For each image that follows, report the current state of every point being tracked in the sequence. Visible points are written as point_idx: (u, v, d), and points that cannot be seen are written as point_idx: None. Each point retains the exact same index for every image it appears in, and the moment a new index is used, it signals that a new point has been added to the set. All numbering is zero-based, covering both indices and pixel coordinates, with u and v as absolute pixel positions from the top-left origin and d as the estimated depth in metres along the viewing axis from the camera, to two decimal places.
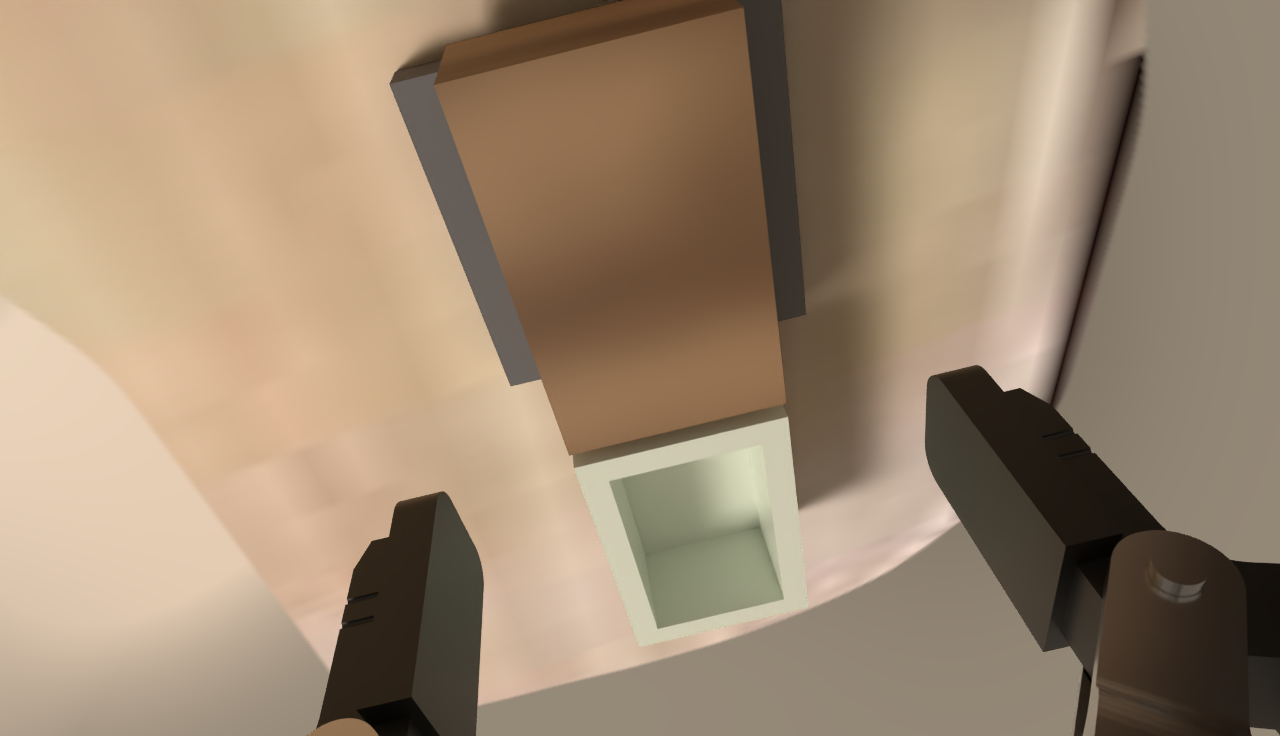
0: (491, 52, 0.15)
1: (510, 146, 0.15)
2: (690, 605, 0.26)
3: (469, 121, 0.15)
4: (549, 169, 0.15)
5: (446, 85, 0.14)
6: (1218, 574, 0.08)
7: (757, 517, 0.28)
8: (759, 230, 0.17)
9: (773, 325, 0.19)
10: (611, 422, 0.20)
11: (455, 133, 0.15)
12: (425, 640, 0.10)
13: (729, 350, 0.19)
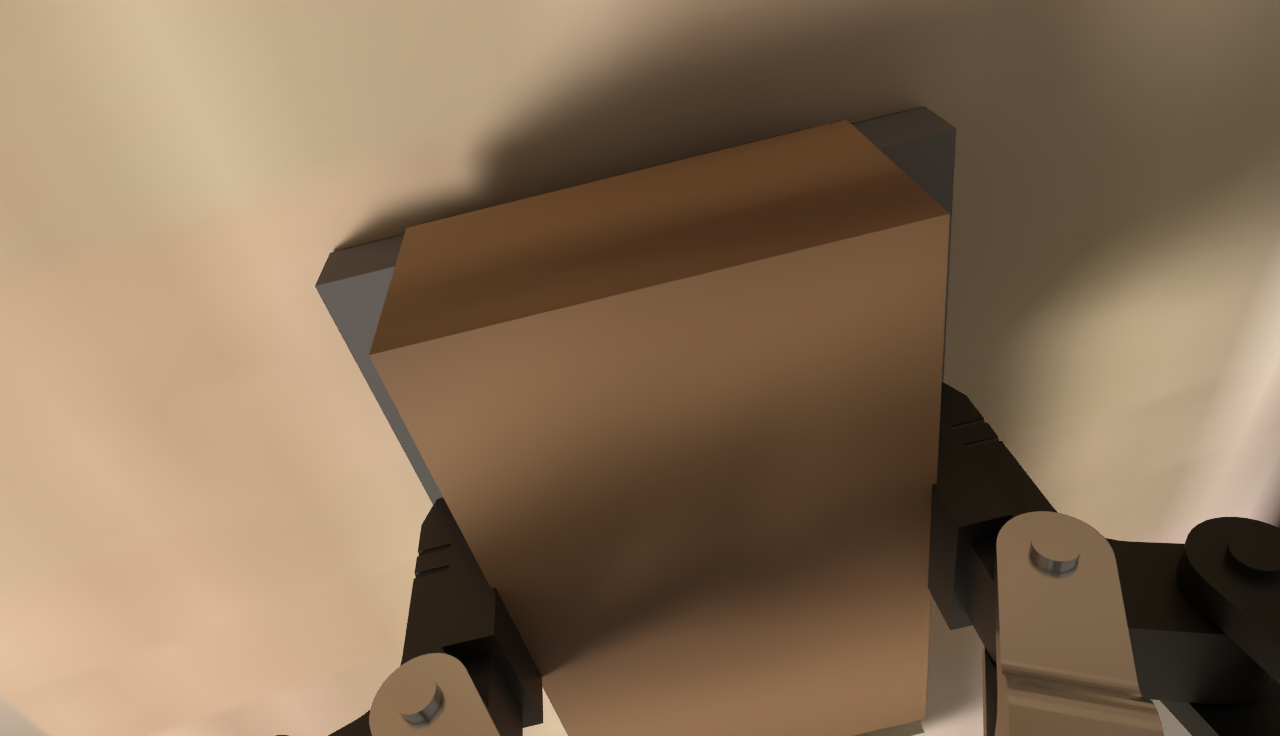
0: (478, 268, 0.09)
1: (511, 438, 0.08)
2: None
3: (438, 406, 0.08)
4: (579, 465, 0.09)
5: (392, 355, 0.08)
6: (1092, 551, 0.08)
7: None
8: (921, 526, 0.10)
9: (922, 636, 0.12)
10: None
11: (412, 423, 0.08)
12: None
13: (850, 668, 0.12)
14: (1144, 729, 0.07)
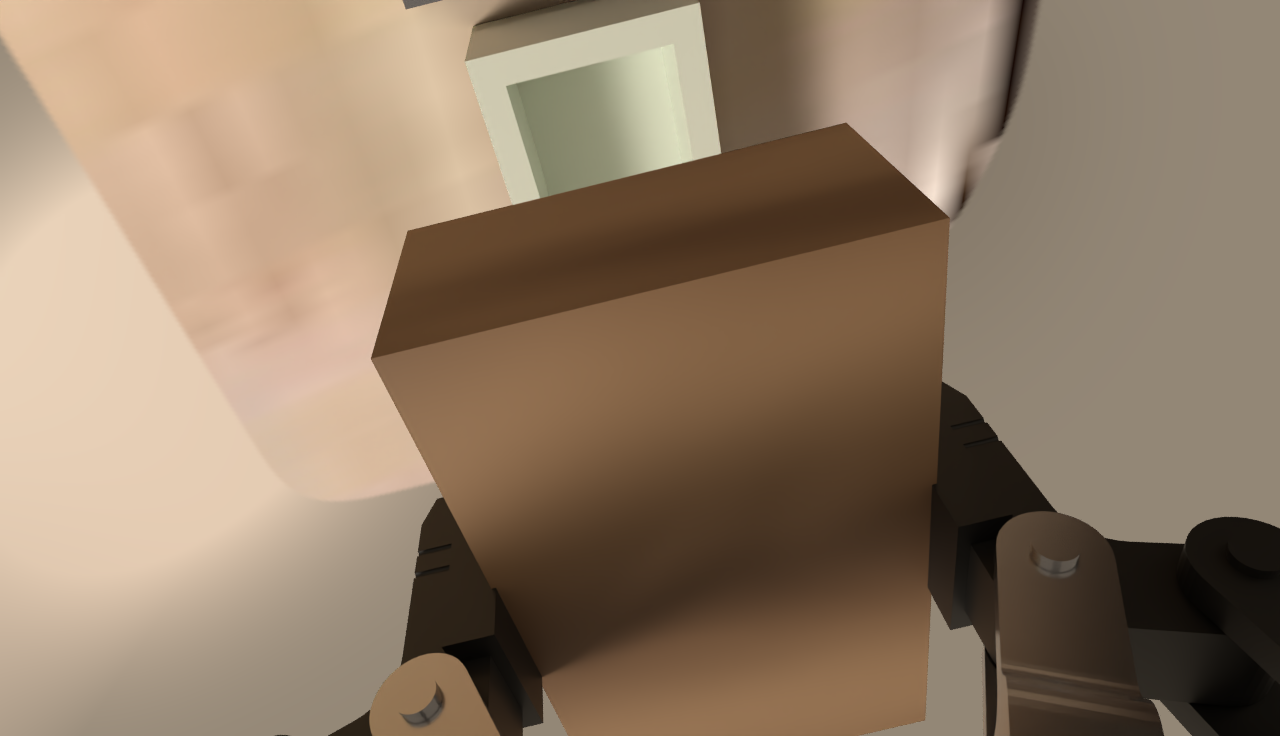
0: (480, 271, 0.09)
1: (513, 440, 0.08)
2: None
3: (439, 409, 0.08)
4: (580, 468, 0.09)
5: (394, 359, 0.08)
6: (1092, 551, 0.08)
7: None
8: (921, 529, 0.10)
9: (922, 638, 0.12)
10: None
11: (414, 426, 0.08)
12: None
13: (849, 670, 0.12)
14: (1144, 729, 0.07)
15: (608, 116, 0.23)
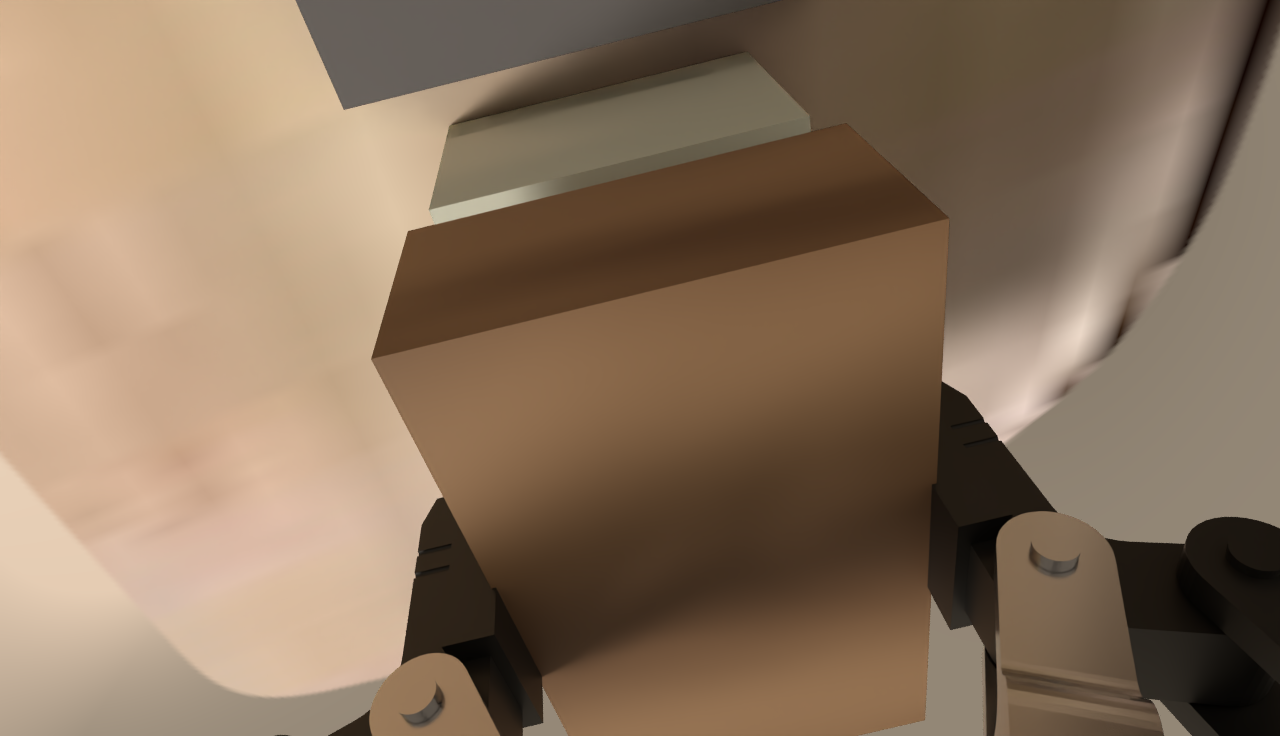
0: (480, 272, 0.09)
1: (513, 441, 0.09)
2: None
3: (440, 409, 0.08)
4: (580, 468, 0.09)
5: (394, 359, 0.08)
6: (1092, 551, 0.08)
7: None
8: (921, 529, 0.10)
9: (922, 638, 0.12)
10: None
11: (414, 426, 0.08)
12: None
13: (850, 669, 0.12)
14: (1144, 729, 0.07)
15: None
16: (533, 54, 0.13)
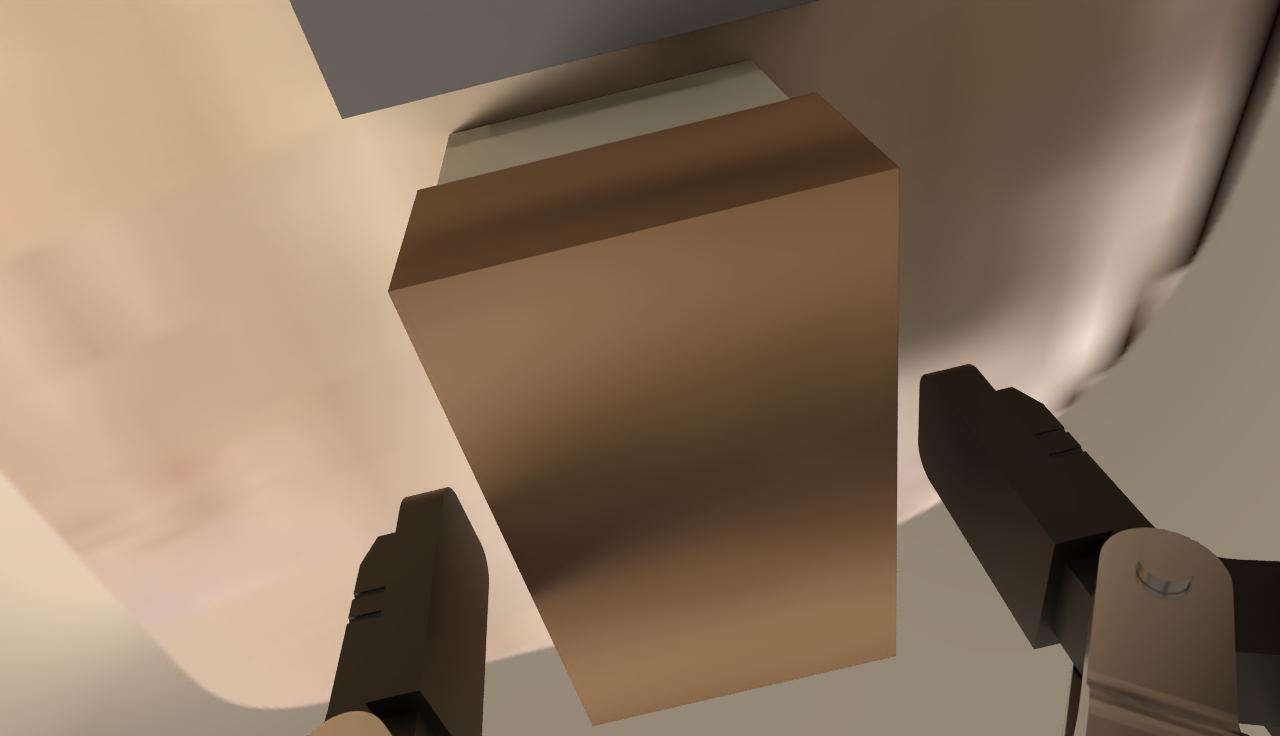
0: (484, 221, 0.10)
1: (513, 371, 0.09)
2: None
3: (448, 340, 0.09)
4: (573, 399, 0.10)
5: (408, 292, 0.09)
6: (1206, 571, 0.08)
7: None
8: (885, 463, 0.11)
9: (890, 572, 0.13)
10: (653, 689, 0.14)
11: (425, 356, 0.09)
12: (432, 634, 0.10)
13: (824, 603, 0.13)
14: None
15: None
16: (535, 62, 0.13)
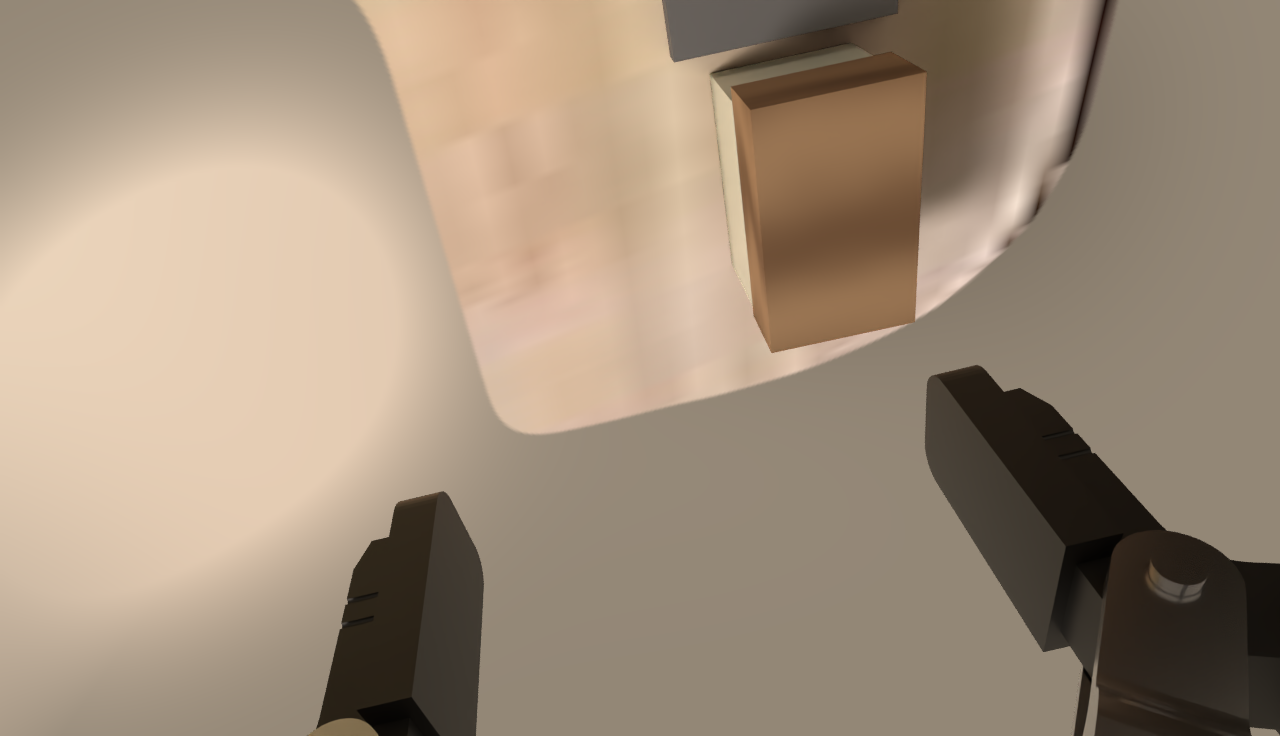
0: (771, 92, 0.26)
1: (783, 146, 0.26)
2: None
3: (764, 131, 0.25)
4: (802, 161, 0.26)
5: (757, 110, 0.25)
6: (1219, 574, 0.08)
7: None
8: (915, 203, 0.28)
9: (914, 266, 0.29)
10: (803, 330, 0.30)
11: (754, 138, 0.26)
12: (425, 640, 0.10)
13: (884, 282, 0.30)
14: None
15: None
16: (761, 39, 0.30)
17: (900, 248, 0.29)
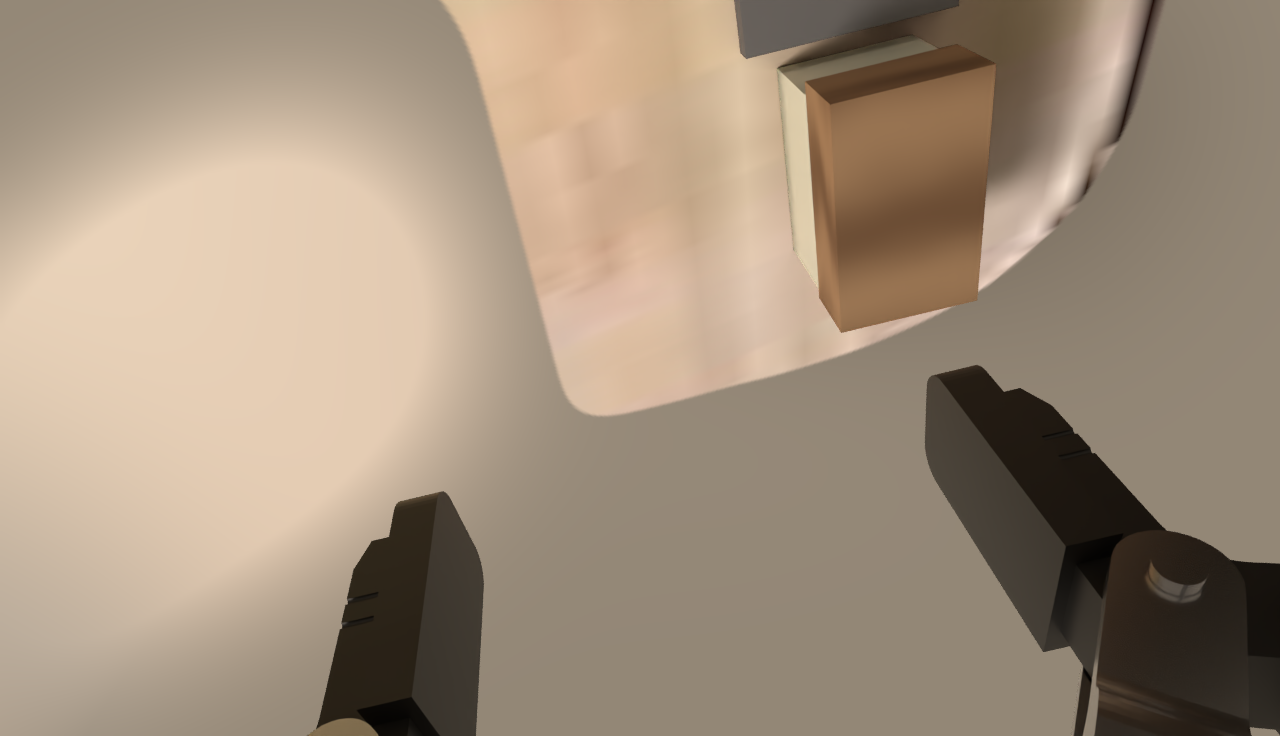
0: (847, 87, 0.28)
1: (859, 138, 0.27)
2: None
3: (842, 124, 0.27)
4: (876, 150, 0.28)
5: (836, 104, 0.27)
6: (1218, 574, 0.08)
7: None
8: (981, 187, 0.29)
9: (978, 247, 0.31)
10: (871, 310, 0.32)
11: (833, 130, 0.27)
12: (425, 640, 0.10)
13: (950, 263, 0.31)
14: None
15: None
16: (829, 34, 0.31)
17: (965, 230, 0.30)
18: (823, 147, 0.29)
